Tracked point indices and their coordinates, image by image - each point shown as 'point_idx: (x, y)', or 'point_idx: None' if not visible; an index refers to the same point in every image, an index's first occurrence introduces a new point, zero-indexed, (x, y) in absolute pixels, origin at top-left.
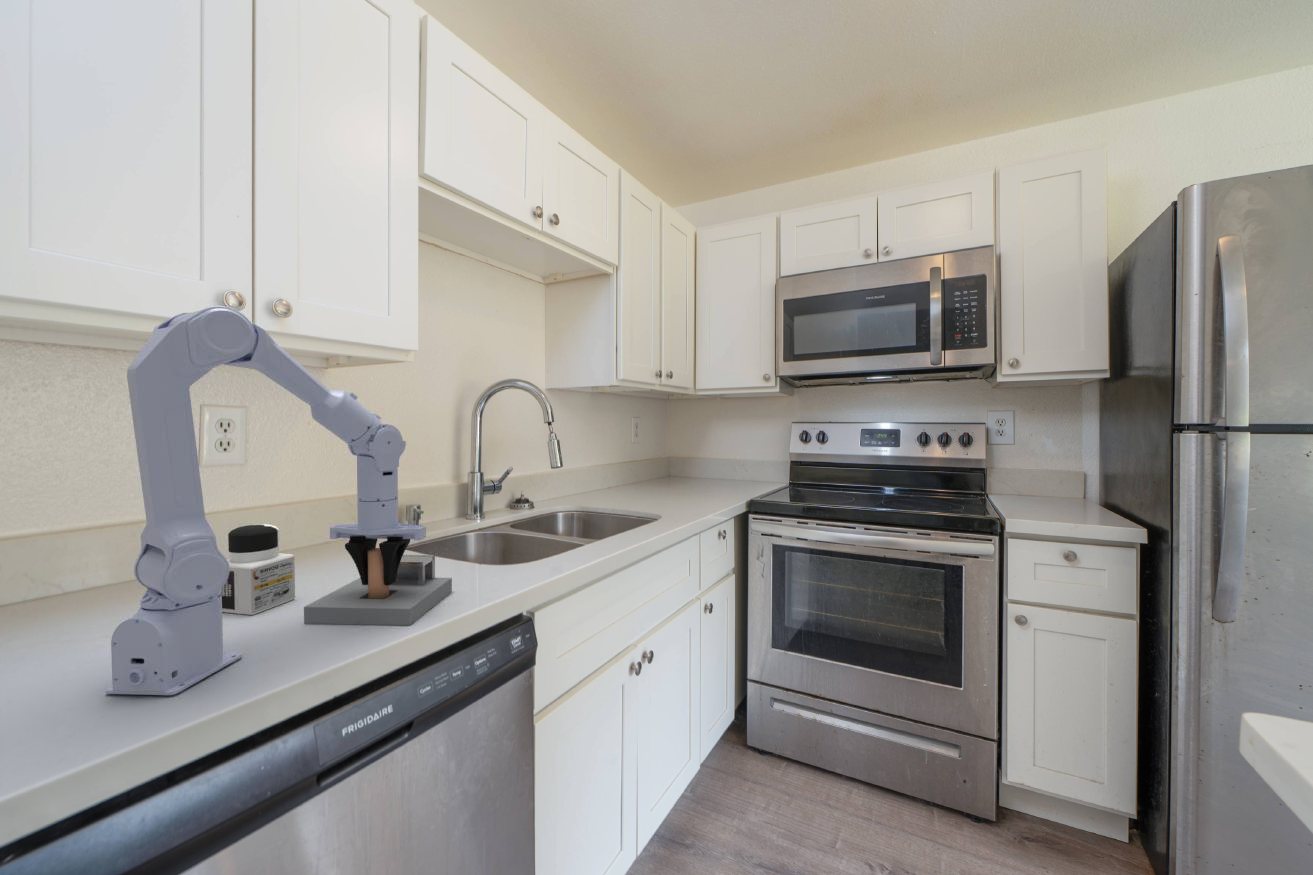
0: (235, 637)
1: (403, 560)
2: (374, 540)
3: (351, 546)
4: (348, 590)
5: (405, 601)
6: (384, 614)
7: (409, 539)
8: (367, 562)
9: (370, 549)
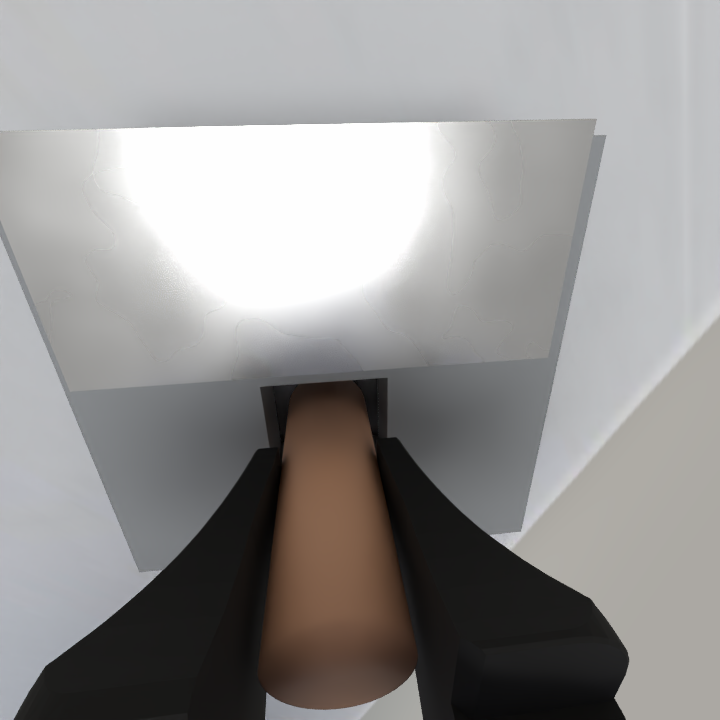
0: (62, 606)
1: (379, 333)
2: (214, 693)
3: None
4: (142, 410)
5: (479, 484)
6: None
7: (621, 663)
8: (264, 584)
9: (260, 668)
